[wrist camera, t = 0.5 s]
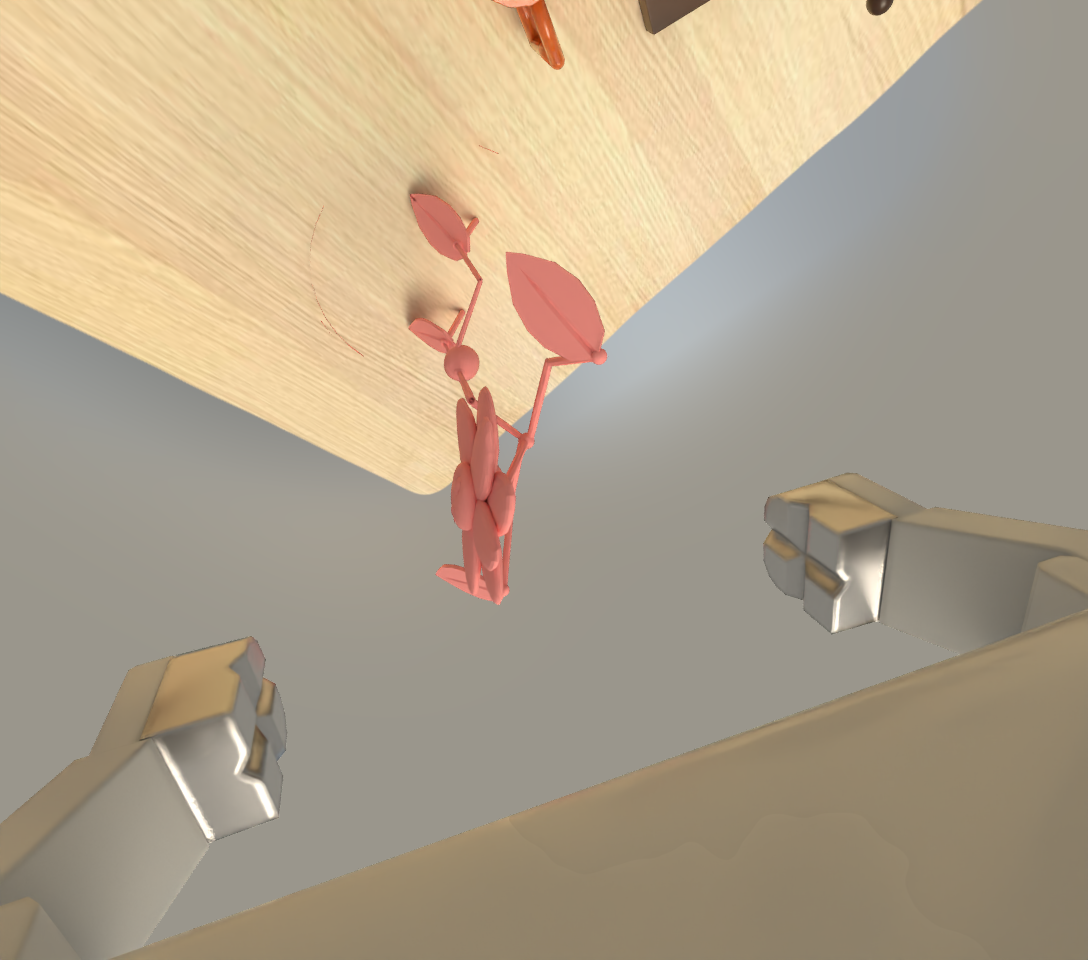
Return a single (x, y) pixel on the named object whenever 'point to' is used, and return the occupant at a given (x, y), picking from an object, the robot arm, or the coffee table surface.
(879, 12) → the mug tree
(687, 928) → the robot arm
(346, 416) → the coffee table surface
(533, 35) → the mug
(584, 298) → the flower sculpture
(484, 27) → the coffee table surface
